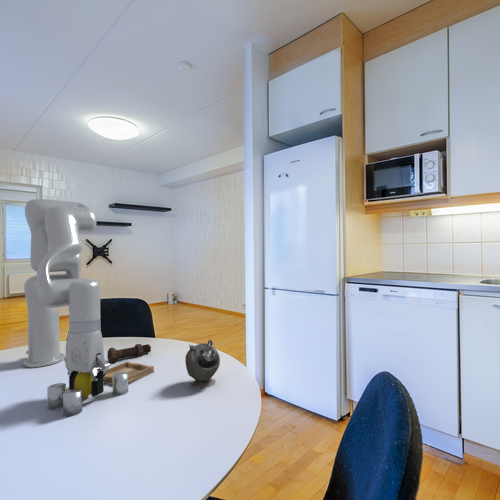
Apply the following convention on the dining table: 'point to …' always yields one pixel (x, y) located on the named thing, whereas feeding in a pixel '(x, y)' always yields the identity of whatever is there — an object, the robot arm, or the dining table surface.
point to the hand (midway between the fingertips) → (86, 391)
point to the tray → (129, 371)
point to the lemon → (83, 383)
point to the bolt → (127, 352)
